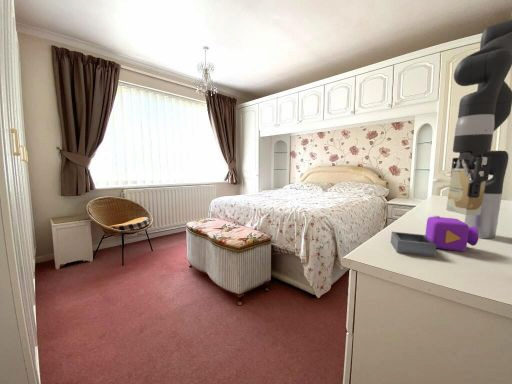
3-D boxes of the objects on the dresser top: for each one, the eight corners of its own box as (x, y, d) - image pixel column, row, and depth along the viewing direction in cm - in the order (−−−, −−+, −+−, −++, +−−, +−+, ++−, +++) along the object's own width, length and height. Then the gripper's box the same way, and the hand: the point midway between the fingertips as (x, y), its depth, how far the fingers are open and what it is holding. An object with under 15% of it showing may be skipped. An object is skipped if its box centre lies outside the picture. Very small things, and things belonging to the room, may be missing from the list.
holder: (390, 242, 82) (391, 231, 82) (423, 246, 79) (425, 234, 78) (397, 252, 73) (398, 240, 72) (434, 257, 69) (436, 244, 69)
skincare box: (445, 210, 67) (450, 168, 65) (458, 210, 67) (464, 168, 66) (467, 215, 60) (473, 169, 59) (482, 215, 61) (488, 169, 59)
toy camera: (485, 254, 72) (489, 224, 71) (435, 251, 75) (439, 221, 73) (461, 243, 82) (465, 215, 81) (419, 240, 85) (422, 213, 84)
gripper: (510, 130, 53) (499, 200, 55) (475, 136, 66) (468, 192, 69) (469, 131, 56) (461, 198, 58) (444, 137, 69) (438, 191, 71)
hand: (465, 195), depth 63 cm, fingers closed on skincare box, 7 cm apart
